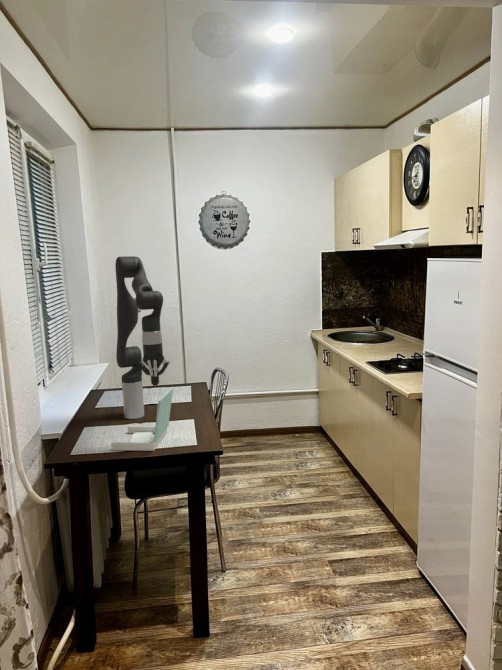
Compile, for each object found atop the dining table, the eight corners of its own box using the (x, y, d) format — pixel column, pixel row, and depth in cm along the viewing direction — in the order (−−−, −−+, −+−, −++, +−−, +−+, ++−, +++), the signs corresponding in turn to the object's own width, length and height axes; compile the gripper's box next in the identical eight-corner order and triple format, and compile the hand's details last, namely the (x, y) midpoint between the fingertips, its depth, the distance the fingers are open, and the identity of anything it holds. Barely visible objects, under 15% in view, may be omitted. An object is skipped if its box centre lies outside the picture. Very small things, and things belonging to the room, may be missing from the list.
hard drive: (149, 442, 194) (152, 431, 206) (128, 443, 193) (133, 432, 205) (149, 446, 194) (153, 434, 206) (128, 447, 193) (133, 436, 205)
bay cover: (171, 387, 202) (173, 387, 202) (166, 425, 205) (168, 426, 205) (158, 400, 184) (160, 400, 184) (153, 442, 188) (155, 442, 188)
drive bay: (128, 432, 208) (128, 425, 208) (167, 432, 206) (167, 426, 206) (111, 450, 190) (111, 442, 189) (153, 450, 188) (153, 443, 187)
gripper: (171, 340, 193) (174, 382, 195) (139, 340, 194) (142, 383, 197) (165, 343, 185) (168, 387, 188) (132, 344, 187) (136, 387, 190)
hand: (155, 385), depth 192 cm, fingers closed
